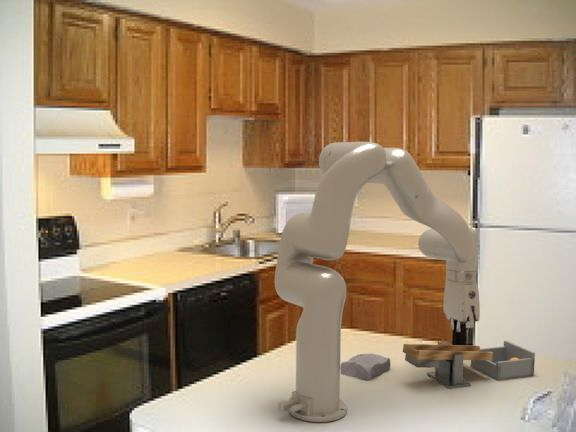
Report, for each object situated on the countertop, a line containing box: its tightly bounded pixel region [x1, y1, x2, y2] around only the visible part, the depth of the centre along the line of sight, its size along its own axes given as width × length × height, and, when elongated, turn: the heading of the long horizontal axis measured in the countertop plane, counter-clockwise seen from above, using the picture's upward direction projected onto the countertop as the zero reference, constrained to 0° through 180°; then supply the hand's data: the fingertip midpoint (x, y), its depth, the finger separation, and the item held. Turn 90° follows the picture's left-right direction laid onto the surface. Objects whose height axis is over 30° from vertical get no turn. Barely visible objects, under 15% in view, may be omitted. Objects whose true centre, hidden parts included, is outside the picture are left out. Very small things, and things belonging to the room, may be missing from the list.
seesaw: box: [402, 340, 493, 369], centre depth 158 cm, size 22×14×4 cm, turn 110°
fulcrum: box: [426, 344, 472, 390], centre depth 155 cm, size 6×10×8 cm, turn 19°
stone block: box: [340, 352, 391, 381], centre depth 162 cm, size 12×5×10 cm
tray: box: [470, 340, 536, 382], centre depth 162 cm, size 11×11×6 cm
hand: (459, 345), depth 164 cm, fingers closed
